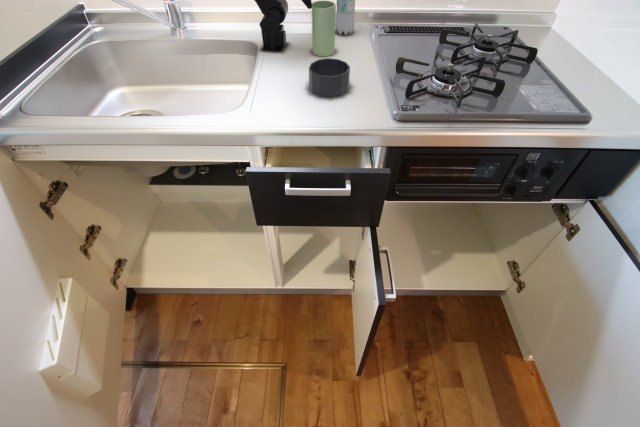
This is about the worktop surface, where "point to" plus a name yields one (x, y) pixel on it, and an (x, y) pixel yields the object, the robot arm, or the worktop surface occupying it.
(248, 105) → the worktop surface
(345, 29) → the bottle
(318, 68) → the bucket
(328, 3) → the cup
